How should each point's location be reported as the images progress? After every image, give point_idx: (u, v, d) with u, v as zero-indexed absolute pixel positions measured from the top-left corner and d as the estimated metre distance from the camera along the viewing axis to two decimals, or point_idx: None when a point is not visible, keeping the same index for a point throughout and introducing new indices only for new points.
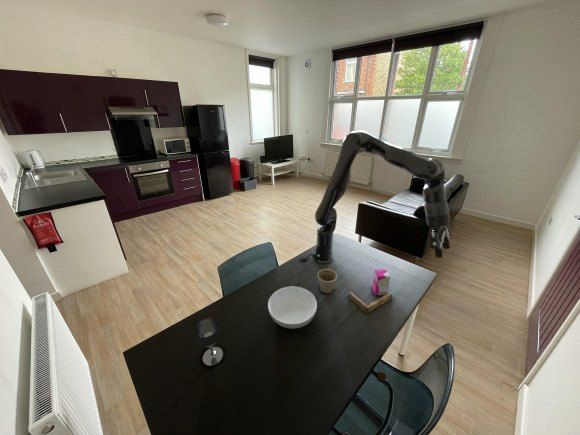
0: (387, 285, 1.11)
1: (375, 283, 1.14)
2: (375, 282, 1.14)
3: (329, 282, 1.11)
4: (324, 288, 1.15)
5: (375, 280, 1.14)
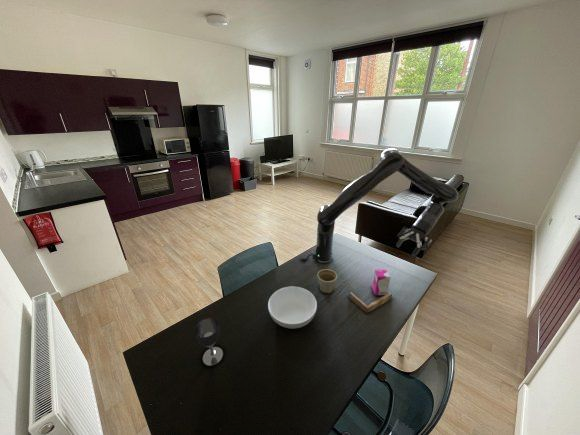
0: (387, 285, 1.11)
1: (375, 283, 1.13)
2: (375, 282, 1.13)
3: (329, 282, 1.11)
4: (324, 288, 1.15)
5: (375, 280, 1.13)
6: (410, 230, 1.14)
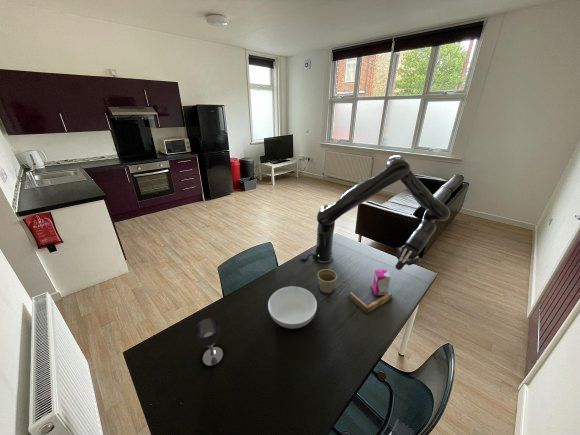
0: (387, 285, 1.11)
1: (375, 283, 1.13)
2: (375, 282, 1.13)
3: (329, 282, 1.11)
4: (324, 288, 1.15)
5: (375, 280, 1.13)
6: (403, 247, 1.17)
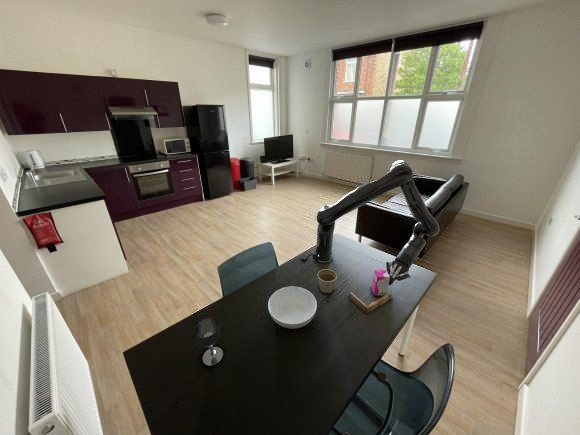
0: (386, 285, 1.11)
1: (374, 283, 1.13)
2: (374, 282, 1.13)
3: (329, 282, 1.11)
4: (324, 288, 1.15)
5: (374, 280, 1.13)
6: (393, 262, 1.17)
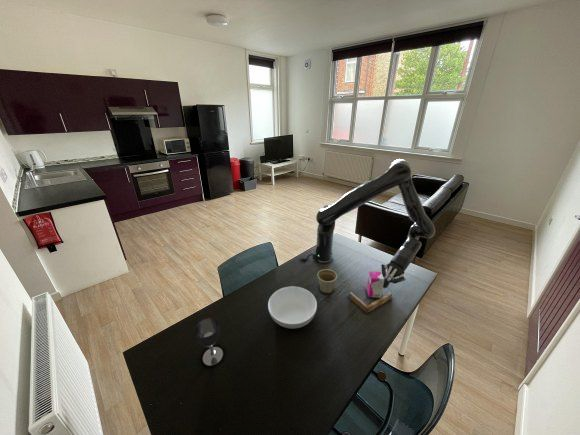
0: (381, 288, 1.10)
1: (369, 285, 1.12)
2: (369, 284, 1.12)
3: (329, 282, 1.11)
4: (324, 288, 1.15)
5: (369, 282, 1.12)
6: (389, 264, 1.16)
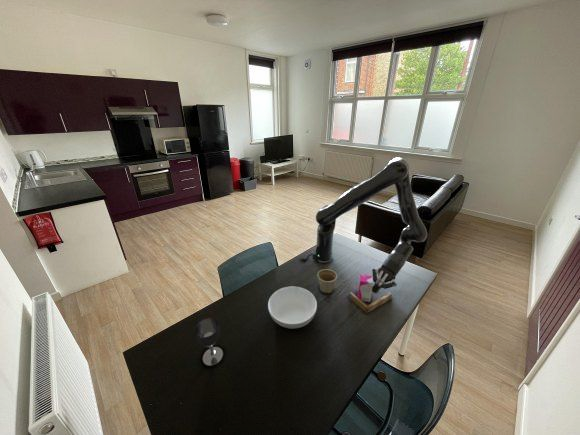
0: (370, 291, 1.08)
1: (358, 288, 1.11)
2: None
3: (329, 282, 1.11)
4: (324, 288, 1.15)
5: None
6: (380, 269, 1.12)
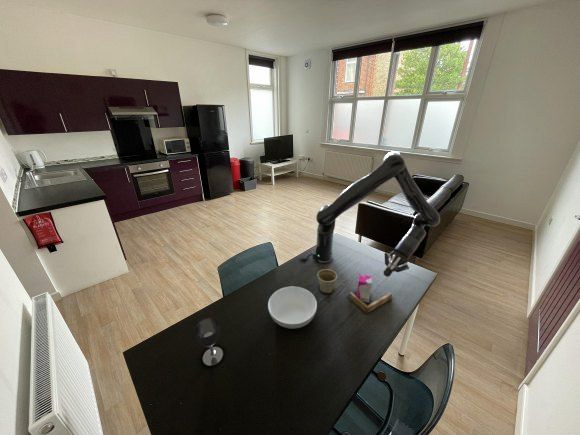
0: (368, 292, 1.07)
1: (357, 288, 1.10)
2: None
3: (329, 282, 1.11)
4: (324, 288, 1.15)
5: None
6: (392, 253, 1.13)
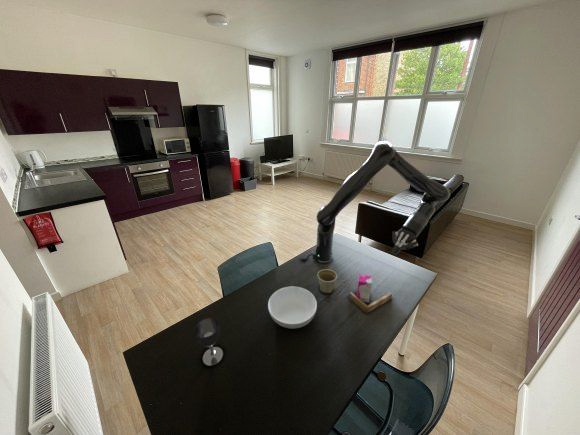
0: (368, 292, 1.07)
1: (357, 288, 1.10)
2: None
3: (329, 282, 1.11)
4: (324, 288, 1.15)
5: None
6: (400, 231, 1.10)
